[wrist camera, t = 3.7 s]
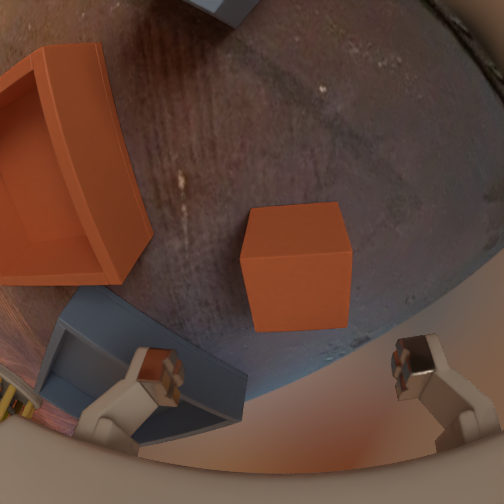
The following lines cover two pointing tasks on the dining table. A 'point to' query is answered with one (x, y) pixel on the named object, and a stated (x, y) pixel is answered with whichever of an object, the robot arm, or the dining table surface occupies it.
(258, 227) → the terracotta block
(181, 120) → the dining table surface
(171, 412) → the blue bin
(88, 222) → the terracotta bin
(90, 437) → the robot arm
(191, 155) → the dining table surface
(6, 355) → the dining table surface
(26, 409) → the lantern
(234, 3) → the blue block
